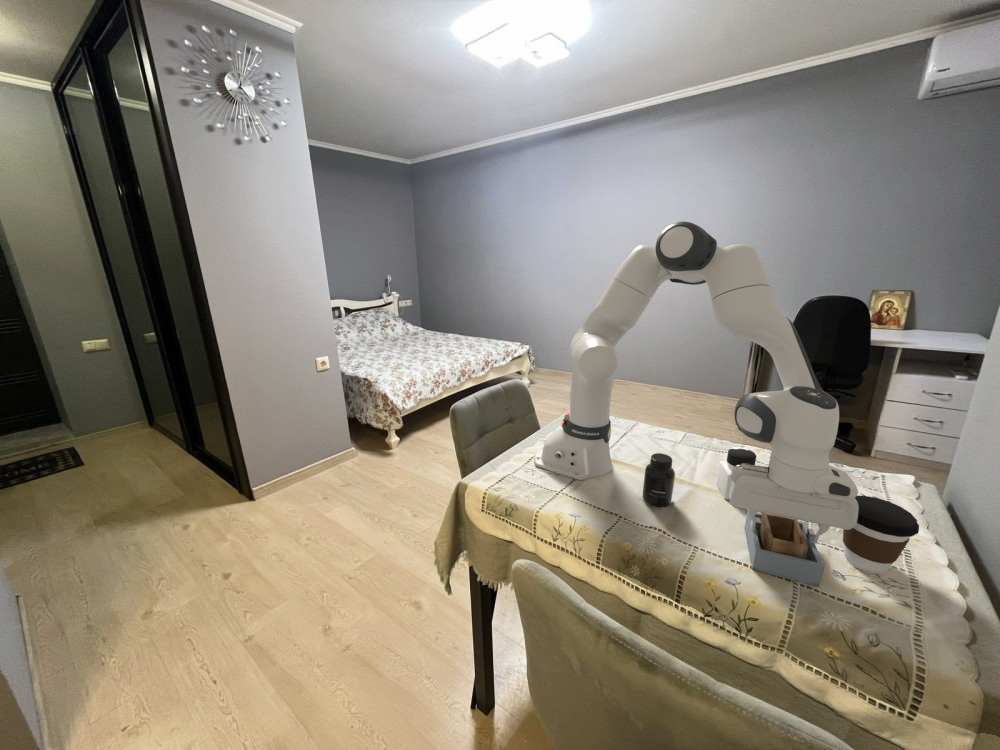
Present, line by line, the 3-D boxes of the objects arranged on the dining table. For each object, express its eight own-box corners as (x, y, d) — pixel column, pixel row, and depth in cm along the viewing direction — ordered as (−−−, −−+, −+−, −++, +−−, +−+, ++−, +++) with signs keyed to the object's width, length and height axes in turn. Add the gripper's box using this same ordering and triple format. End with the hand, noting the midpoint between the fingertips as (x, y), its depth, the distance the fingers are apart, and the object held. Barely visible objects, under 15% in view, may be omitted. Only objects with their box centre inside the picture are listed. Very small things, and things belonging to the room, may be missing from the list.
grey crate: (752, 569, 78) (755, 550, 77) (744, 527, 90) (747, 510, 89) (819, 586, 74) (824, 566, 73) (801, 540, 86) (806, 522, 84)
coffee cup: (832, 568, 78) (846, 516, 74) (827, 536, 87) (839, 488, 83) (909, 593, 72) (929, 537, 69) (896, 556, 81) (912, 504, 77)
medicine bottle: (756, 502, 99) (764, 459, 95) (724, 499, 100) (731, 456, 96) (745, 486, 105) (752, 445, 102) (715, 484, 107) (722, 443, 103)
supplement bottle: (653, 511, 96) (658, 466, 93) (636, 495, 103) (640, 453, 99) (677, 505, 98) (683, 462, 95) (659, 490, 104) (664, 449, 101)
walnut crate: (764, 564, 79) (770, 538, 77) (757, 535, 86) (762, 511, 85) (801, 573, 76) (808, 547, 75) (791, 543, 84) (796, 518, 82)
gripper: (734, 469, 78) (724, 529, 82) (870, 492, 70) (851, 558, 74) (732, 454, 83) (722, 511, 87) (857, 474, 75) (840, 536, 79)
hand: (782, 533), depth 81 cm, fingers open, 8 cm apart
